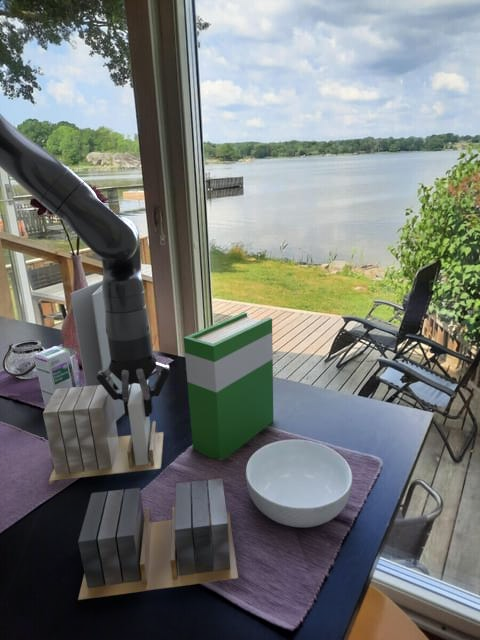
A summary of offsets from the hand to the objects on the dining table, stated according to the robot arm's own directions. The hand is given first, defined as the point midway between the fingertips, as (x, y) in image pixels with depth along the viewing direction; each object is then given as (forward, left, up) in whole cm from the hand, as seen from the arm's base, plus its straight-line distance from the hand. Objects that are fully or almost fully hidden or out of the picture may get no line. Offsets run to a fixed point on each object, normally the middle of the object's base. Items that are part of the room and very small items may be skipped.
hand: (139, 415), depth 84 cm
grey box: (-8, +20, -9) cm, 23 cm away
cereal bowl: (+26, -18, -9) cm, 33 cm away
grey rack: (+4, -25, -9) cm, 27 cm away
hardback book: (+18, +4, -9) cm, 21 cm away
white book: (0, 0, -8) cm, 8 cm away
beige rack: (-6, 0, -9) cm, 11 cm away
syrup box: (-22, +23, -9) cm, 33 cm away
